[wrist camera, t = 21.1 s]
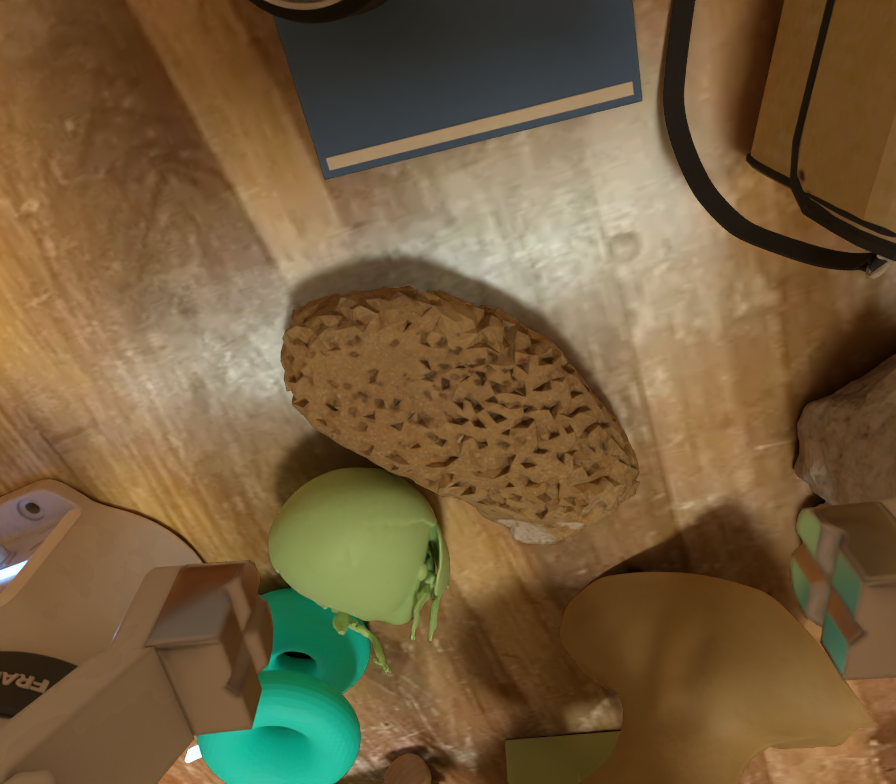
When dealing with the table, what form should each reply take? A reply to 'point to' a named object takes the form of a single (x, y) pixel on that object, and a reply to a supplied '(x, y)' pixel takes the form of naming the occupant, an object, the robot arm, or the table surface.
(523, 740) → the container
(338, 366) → the sponge
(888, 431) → the decorative stone
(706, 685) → the head sculpture
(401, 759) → the toy lion
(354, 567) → the green rounded piece
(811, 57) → the clutch purse
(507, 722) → the table surface
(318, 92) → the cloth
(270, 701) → the donuts
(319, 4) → the beverage can
